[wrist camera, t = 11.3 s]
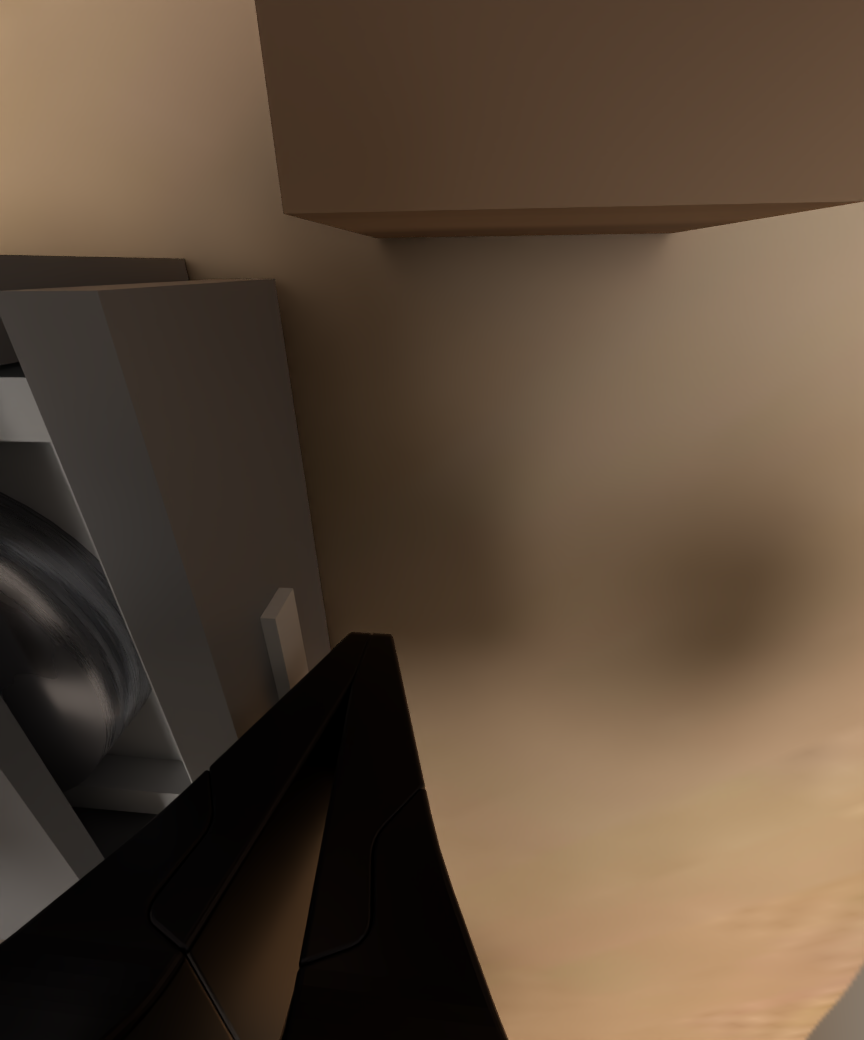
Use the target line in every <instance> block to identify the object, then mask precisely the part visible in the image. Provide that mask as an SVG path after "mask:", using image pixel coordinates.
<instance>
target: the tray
mask: <svg viewBox="0 0 864 1040" xmlns="http://www.w3.org/2000/svg"><path fill="white" fill-rule="evenodd" d="M0 317H1V319H2V321H3V324H4V326H5V329H6V331H7V334H8V336H9V338H10V341H11V343H12V346H13V348H14V351H15V353H16V355H17V358H18V360H19V362H14V363H9V364H5V365H0V492H2V493H4V494H5V495H7V496H9V497H11V498H13V499H15V500H17V501H19V502H21V503H23V504H25V505H27V506H28V507H30V508H31V509H33V510H35V511H36V512H38V513H39V514H41V515H43V516H44V517H46V518H47V519H49V520H51V521H52V522H53V523H55V524H56V525H57V526H59V527H60V528H61V529H63V530H64V531H65V532H67V533H68V534H69V535H71V536H72V537H73V538H75V539H76V540H77V541H78V542H79V543H81V544H82V545H83V546H84V547H85V548H86V549H87V550H88V551H89V552H91V553H92V554H93V555H94V556H95V557H96V558H97V559H98V560H99V561H100V564H101V566H102V568H103V571H104V573H105V576H106V578H107V580H108V583H109V585H110V588H111V590H112V592H113V595H114V597H115V600H116V602H117V605H118V607H119V609H120V612H121V614H122V617H123V619H124V621H125V624H126V626H127V629H128V631H129V634H130V636H131V638H132V641H133V643H134V646H135V648H136V650H137V653H138V655H139V658H140V660H141V663H142V665H143V667H144V670H145V672H146V675H147V677H148V679H149V682H150V684H151V687H152V692H151V694H150V695H149V697H148V699H147V701H146V703H145V704H144V706H143V707H142V708H141V710H140V711H139V712H138V714H137V715H136V716H135V717H134V719H133V720H132V721H131V723H130V724H129V725H128V727H127V728H126V729H125V731H124V732H123V733H122V734H121V736H120V737H119V738H118V740H117V741H116V742H115V744H114V745H113V746H112V748H111V749H110V750H109V751H108V753H107V754H106V755H105V757H104V758H103V759H102V761H101V762H100V763H99V765H98V766H97V767H96V768H95V770H94V771H93V772H92V773H91V774H90V776H89V777H88V778H87V779H86V780H84V781H83V782H82V783H80V784H79V785H78V786H76V787H74V788H72V789H70V790H68V791H66V792H63V794H64V796H65V797H66V799H67V801H68V802H69V804H70V805H71V807H82V808H93V809H104V810H116V811H127V812H138V813H149V814H159V813H160V812H161V811H162V810H163V809H164V808H165V807H166V806H168V805H169V804H170V803H171V802H172V801H173V800H174V799H175V798H176V797H177V796H178V795H180V794H181V793H182V792H183V791H184V790H185V789H186V788H187V787H188V786H189V785H190V784H191V783H192V782H193V781H195V780H196V779H197V778H198V777H199V776H200V775H201V774H202V773H203V772H204V771H205V770H209V768H210V766H211V765H212V764H213V763H214V762H215V761H216V760H217V759H218V758H219V757H220V756H221V755H222V754H223V753H224V752H225V751H226V750H227V749H228V748H229V747H231V746H232V745H233V744H234V743H235V742H236V741H237V740H238V739H239V738H240V737H241V736H242V735H243V734H244V733H245V732H246V731H247V730H248V729H249V728H250V727H252V726H253V725H254V724H255V723H256V722H257V721H258V720H259V719H260V718H261V717H262V716H263V715H264V714H265V713H266V712H267V711H268V710H269V709H270V708H271V707H273V706H274V705H275V704H276V703H277V702H278V701H279V700H280V699H281V698H282V697H283V696H284V695H285V694H286V693H287V692H288V691H289V690H290V689H291V688H292V687H294V686H295V685H296V684H297V683H298V682H299V681H300V680H301V679H302V678H303V677H304V676H305V675H306V674H307V673H308V672H309V671H310V670H311V669H312V668H313V667H315V666H316V665H317V664H318V663H319V662H320V661H321V660H322V659H323V658H324V657H325V656H326V655H327V654H328V653H329V652H330V651H331V648H330V642H329V635H328V628H327V622H326V615H325V608H324V602H323V595H322V589H321V582H320V575H319V569H318V562H317V555H316V549H315V542H314V536H313V529H312V522H311V516H310V509H309V502H308V496H307V489H306V483H305V476H304V469H303V463H302V456H301V449H300V443H299V436H298V429H297V423H296V416H295V410H294V403H293V396H292V390H291V383H290V376H289V370H288V363H287V357H286V350H285V343H284V337H283V330H282V323H281V317H280V310H279V304H278V297H277V290H276V284H275V279H210V280H192V281H173V282H155V283H136V284H117V285H99V286H80V287H61V288H43V289H24V290H6V291H0ZM209 772H210V771H209Z"/></svg>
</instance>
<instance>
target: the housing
mask: <svg viewBox="0 0 864 1040" xmlns="http://www.w3.org/2000/svg"><path fill="white" fill-rule="evenodd" d="M173 281H189V279H188V274H187V270H186V266H185V261H184V259H170V258H123V257H76V256H28V255H0V291H6V290H24V289H43V288H61V287H80V286H99V285H117V284H136V283H155V282H173ZM14 362H19V360H18V358H17V355H16V353H15V351H14V348H13V346H12V343H11V341H10V338H9V336H8V334H7V331H6V329H5V326H4V324H3V321H2V319H1V317H0V365H5V364H9V363H14ZM157 815H158V814H149V813H138V812H127V811H116V810H104V809H93V808H82V807H71V805H70V804H69V802H68V801H67V799H66V797H65V796H64V794H63V793H62V791H61V790H60V788H59V786H58V785H57V783H56V782H55V780H54V779H53V777H52V775H51V774H50V772H49V771H48V769H47V768H46V766H45V764H44V763H43V761H42V760H41V758H40V757H39V755H38V753H37V752H36V750H35V749H34V747H33V746H32V744H31V742H30V741H29V739H28V738H27V736H26V735H25V733H24V731H23V730H22V728H21V727H20V725H19V724H18V722H17V721H16V719H15V717H14V716H13V714H12V713H11V711H10V710H9V708H8V706H7V705H6V703H5V702H4V700H3V699H2V697H1V695H0V939H4V940H6V939H7V938H8V937H9V936H11V935H12V934H13V933H15V932H16V931H17V930H18V929H20V928H21V927H22V926H23V925H25V924H26V923H27V922H28V921H29V920H31V919H32V918H33V917H34V916H36V915H37V914H38V913H39V912H41V911H42V910H43V909H44V908H45V907H47V906H48V905H49V904H50V903H52V902H53V901H54V900H55V899H56V898H58V897H59V896H60V895H61V894H63V893H64V892H65V891H66V890H68V889H69V888H70V887H71V886H72V885H74V884H75V883H76V882H77V881H79V880H80V879H81V878H82V877H83V876H85V875H86V874H87V873H88V872H90V871H91V870H92V869H93V868H95V867H96V866H97V865H98V864H99V863H101V862H102V861H103V860H104V859H106V858H107V857H108V856H109V855H110V854H112V853H113V852H114V851H115V850H117V849H118V848H119V847H120V846H121V845H122V844H124V843H125V842H126V841H127V840H128V839H130V838H131V837H132V836H133V835H134V834H135V833H137V832H138V831H139V830H140V829H141V828H143V827H144V826H145V825H146V824H147V823H149V822H150V821H151V820H152V819H153V818H154V817H155V816H157Z"/></svg>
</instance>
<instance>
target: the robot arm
mask: <svg viewBox="0 0 864 1040" xmlns="http://www.w3.org/2000/svg"><path fill="white" fill-rule="evenodd" d="M209 771H210V772H209ZM0 1040H508V1038H507V1035H506V1033H505V1030H504V1028H503V1025H502V1023H501V1020H500V1018H499V1015H498V1012H497V1010H496V1007H495V1004H494V1002H493V999H492V996H491V994H490V991H489V988H488V985H487V983H486V980H485V977H484V974H483V971H482V969H481V966H480V963H479V960H478V957H477V955H476V952H475V949H474V946H473V943H472V941H471V938H470V935H469V932H468V929H467V927H466V924H465V921H464V918H463V915H462V913H461V910H460V907H459V904H458V901H457V899H456V896H455V893H454V890H453V887H452V884H451V881H450V878H449V875H448V872H447V869H446V866H445V862H444V859H443V856H442V853H441V850H440V847H439V843H438V839H437V835H436V831H435V827H434V823H433V819H432V815H431V810H430V806H429V801H428V796H427V792H426V790H425V784H424V779H423V774H422V770H421V765H420V760H419V756H418V751H417V746H416V742H415V737H414V732H413V728H412V723H411V718H410V714H409V709H408V704H407V700H406V695H405V690H404V686H403V681H402V676H401V672H400V667H399V662H398V658H397V653H396V649H395V644H394V639H393V636H392V635H391V634H380V633H373V634H370V633H363V632H351V633H350V634H348V635H347V636H346V637H345V638H344V639H343V640H342V641H341V642H340V643H339V644H338V645H337V646H336V647H334V648H333V649H332V650H331V651H330V652H329V653H328V654H327V655H326V656H325V657H324V658H323V659H322V660H321V661H320V662H319V663H318V664H317V665H316V666H315V667H313V668H312V669H311V670H310V671H309V672H308V673H307V674H306V675H305V676H304V677H303V678H302V679H301V680H300V681H299V682H298V683H297V684H296V685H295V686H294V687H292V688H291V689H290V690H289V691H288V692H287V693H286V694H285V695H284V696H283V697H282V698H281V699H280V700H279V701H278V702H277V703H276V704H275V705H274V706H273V707H271V708H270V709H269V710H268V711H267V712H266V713H265V714H264V715H263V716H262V717H261V718H260V719H259V720H258V721H257V722H256V723H255V724H254V725H253V726H252V727H250V728H249V729H248V730H247V731H246V732H245V733H244V734H243V735H242V736H241V737H240V738H239V739H238V740H237V741H236V742H235V743H234V744H233V745H232V746H231V747H229V748H228V749H227V750H226V751H225V752H224V753H223V754H222V755H221V756H220V757H219V758H218V759H217V760H216V761H215V762H214V763H213V764H212V765H211V766H210V768H209V770H205V771H204V772H203V773H202V774H201V775H200V776H199V777H198V778H197V779H196V780H195V781H193V782H192V783H191V784H190V785H189V786H188V787H187V788H186V789H185V790H184V791H183V792H182V793H181V794H180V795H178V796H177V797H176V798H175V799H174V800H173V801H172V802H171V803H170V804H169V805H168V806H166V807H165V808H164V809H163V810H162V811H161V812H160V813H159V814H158V815H157V816H155V817H154V818H153V819H152V820H151V821H150V822H149V823H147V824H146V825H145V826H144V827H143V828H141V829H140V830H139V831H138V832H137V833H135V834H134V835H133V836H132V837H131V838H130V839H128V840H127V841H126V842H125V843H124V844H122V845H121V846H120V847H119V848H118V849H117V850H115V851H114V852H113V853H112V854H110V855H109V856H108V857H107V858H106V859H104V860H103V861H102V862H101V863H99V864H98V865H97V866H96V867H95V868H93V869H92V870H91V871H90V872H88V873H87V874H86V875H85V876H83V877H82V878H81V879H80V880H79V881H77V882H76V883H75V884H74V885H72V886H71V887H70V888H69V889H68V890H66V891H65V892H64V893H63V894H61V895H60V896H59V897H58V898H56V899H55V900H54V901H53V902H52V903H50V904H49V905H48V906H47V907H45V908H44V909H43V910H42V911H41V912H39V913H38V914H37V915H36V916H34V917H33V918H32V919H31V920H29V921H28V922H27V923H26V924H25V925H23V926H22V927H21V928H20V929H18V930H17V931H16V932H15V933H13V934H12V935H11V936H9V937H8V938H7V939H6V940H4V941H3V942H2V943H0Z"/></svg>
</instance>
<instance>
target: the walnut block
mask: <svg viewBox="0 0 864 1040" xmlns="http://www.w3.org/2000/svg"><path fill="white" fill-rule="evenodd" d="M255 5H256V13H257V20H258V27H259V35H260V42H261V50H262V57H263V64H264V72H265V79H266V87H267V94H268V102H269V109H270V116H271V124H272V131H273V139H274V146H275V153H276V161H277V168H278V176H279V183H280V190H281V198H282V205H283V213H284V214H287V215H291V216H294V217H298V218H302V219H306V220H310V221H313V222H317V223H321V224H325V225H329V226H333V227H336V228H340V229H344V230H348V231H352V232H355V233H359V234H363V235H367V236H371V237H374V238H405V237H464V236H524V235H583V234H643V233H676V232H682V231H688V230H694V229H700V228H706V227H712V226H718V225H724V224H730V223H736V222H742V221H748V220H754V219H761V218H767V217H773V216H779V215H785V214H791V213H797V212H803V211H809V210H815V209H821V208H827V207H833V206H839V205H845V204H851V203H857V202H863V201H864V0H255Z"/></svg>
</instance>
